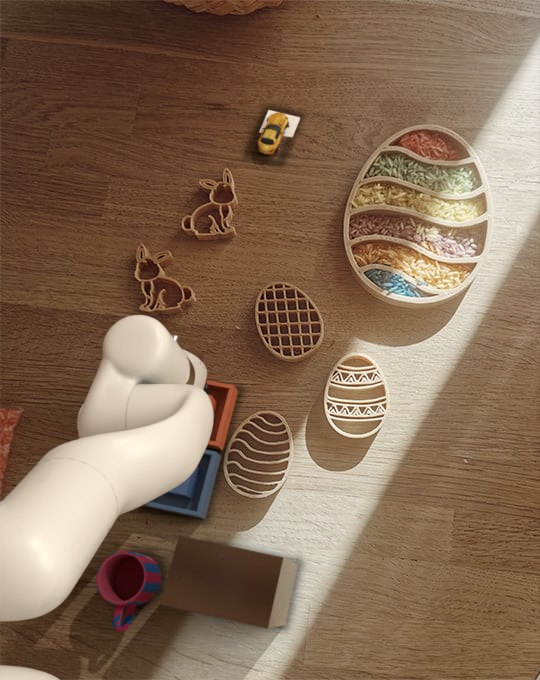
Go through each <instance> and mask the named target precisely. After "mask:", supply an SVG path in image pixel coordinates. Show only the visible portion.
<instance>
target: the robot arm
mask: <svg viewBox="0 0 540 680" xmlns="http://www.w3.org/2000/svg"><path fill="white" fill-rule="evenodd" d="M179 340H180V337H179V336H178V335H176V334H171V333H170V332H169V330H168V329H167V328H166V327H165V325H164V324H162V322H160V321H159V320H158V319H156V318H154V317H152V316H149V315H145V314H132V315H127V316H125V317H123V318H120V319H119V320H117V321H116V322H115V323H114V324H113V325H112V326H111V327H110V328H109V329H108V330H107V332H106V334H105V336H104V338H103V342H102V359H101V361H100V363H99V366H98V369H97V371H96V373H95V376H94V378H93V381H92V383H91V385H90V388H89V391H88V392H87V395H86V397H85V400H84V402H83V403H82V405H81V407H80V408H79V411H78V414H77V419H76V428H77V433H78V438H77V439H74V440H70V441H67V442H64V443H62V444H60V445H59V444H58V445H57V446H56V447H54V448H52V449H50V450H49V451H48V452H47V453H46V454H44V455H43V456H42V458H41V459H39V461H38V462H37V463H36V464H35V465H34V466H33V468H32V469H31V470H30V471H28V473H27V474H26V475H25V476H24V477H23V479H21V480H20V482H19V483H18V484H17V485H16V486H15V487H14V488H13V489H12V490H11V491H10V493H8V494H7V495H6V496H5V497H4V498H3V499H2V500H1V501H0V622H17V621H26V620H32V619H36V618H39V617H42V616H45V615H47V614H48V613H51V612H52V611H53V610H55V609H57V608H58V607H59V606H60V605H61V604H63V603H64V602H65V600H66V599H68V597H69V595H70V594H71V593H72V592H73V589H74V588H75V586H76V584H77V583H78V581H79V580H80V578H81V577H82V575H83V574H84V572H85V571H86V569H87V567H88V565H89V564H90V563H91V561H92V559H93V558H94V556H95V554H96V553H97V552H98V550H99V548H100V546H101V545H102V543H103V542H104V540H105V538H106V537H107V536H108V533H109V532H110V530H111V529H112V527H113V526H114V524H115V522H117V519H118V518H119V516H121V515H123V514H125V513H128V512H130V511H133V510H135V509H138V508H140V507H143V506H142V505H144V504H146V503H148V502H150V501H152V500H153V499H155V498H157V497H159V496H161V495H163V494H165V493H167V492H168V491H170V490H172V489H174V488H175V487H177V486H179V485H180V484H181V483H183V482H184V481H185V480H186V479H187V478H188V477H190V476H191V474H192V473H193V472H194V471H195V469H196V467H197V466H198V464H199V462H200V460H201V458H202V456H203V454H204V451H205V450H207V448H206V447H207V445H208V442H209V439H210V436H211V432H212V428H213V419H214V416H213V407H212V403H211V400H210V398H209V396H208V395H211V396H212V394H211V393H210V392H209V391H208V389H207V381H206V380H207V377H208V370H207V367H206V365H205V364H204V360H205V359H204V358H205V353H204V352H200V351H193V352H189V351H188V350H185V349H184V348H182V347H181V346H180V345H179V344H180V343H179ZM207 394H208V395H207ZM212 397H213V396H212ZM0 680H61V679H60V678H58V677H56V676H54V675H53V674H51V673H48V672H46V671H42V670H40V669H39V670H38V669H34V668H30V667H25V666H16V665H4V664H3V665H0Z"/></svg>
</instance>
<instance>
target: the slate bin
mask: <svg viewBox="0 0 540 680" xmlns="http://www.w3.org/2000/svg"><path fill="white" fill-rule="evenodd" d="M221 459H222V456H221V455H220V454H219V453H218V452H217V451H216V450H215V451H214V450H209V449H205V451H204V454H203V456H202V458H201V460H200V462H199V464H198V466H197V467H198V468H199V469H201V471H200V475H199V478H198V482H197V486H196V489H195V493H194V497H193V500H192V499H187V498H182V497H178V496H173V495H168V494H163V495H161V496H159V497H157V498H155V499H153V500H152V501H150V502H148V503H146V504H144V505H142V506H141V507H145V508H149V509H153V510H159V511H162V512H163V511H164V512H168V513H173V514H178V515H182V516H187V517H192V518H197V519H200V520H201V519H202V520H206V517H207V513H208V510H209V509H208V508H209V505H210V501H211V497H212V494H213V489H214V486H215V481H216V479H217V474H218V470H219V466H220V462H221Z"/></svg>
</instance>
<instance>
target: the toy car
mask: <svg viewBox="0 0 540 680" xmlns="http://www.w3.org/2000/svg"><path fill="white" fill-rule="evenodd" d="M300 121H301V116H297V115H296V116H295V115H292V114H288V113H283V112H279V111H275V110H270V109H268V111H267V113H266V115H265V117H264V120H263V122H262V124H261V126H260V129H259V131H258V133H259V134H261V135H260V137H259V139H258V140H257V142H256V146H257V148H258V152H259V153H261V154H263V155H269V156H273V155H274V154H275V153H277V152H279V151H281V147H280V145H281V143H282V139H283V137H286V138H287V137H288V138H293V137H294V135H295V132H296V130H297V128H298V125H299V123H300Z"/></svg>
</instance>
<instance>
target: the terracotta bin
mask: <svg viewBox="0 0 540 680" xmlns="http://www.w3.org/2000/svg"><path fill="white" fill-rule="evenodd" d="M206 381H207V389H208V391H209V392H210V393H211V394H212V396H213V398H214V399H215V401H216V402H217V403H218V404H217V408H216V411H215V415H214V419H213V428H212V432H211V436H210V439H209V442H208V445H207V447H206V449H211V450H215V451H216V450H217V451H222V452H223V450H224V447H225V444H226V440H227V435H228V431H229V428H230V424H231V420H232V416H233V412H234V408H235V405H236V401H237V397H238V393H239V391H238V389H237V388H236V386H235V385H234V384H230V383H224V382H218V381H213V380H208V379H206Z"/></svg>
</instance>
